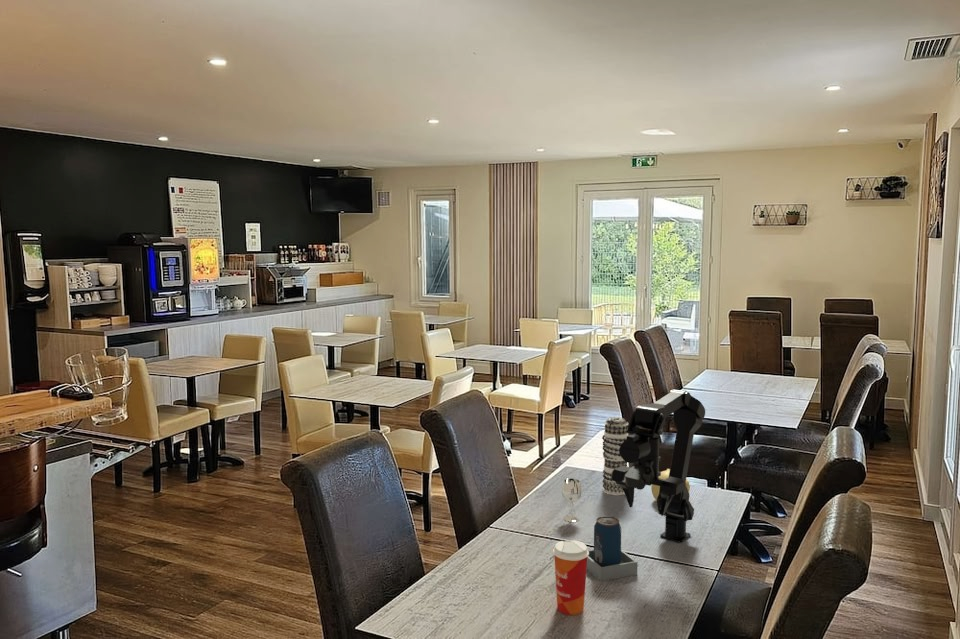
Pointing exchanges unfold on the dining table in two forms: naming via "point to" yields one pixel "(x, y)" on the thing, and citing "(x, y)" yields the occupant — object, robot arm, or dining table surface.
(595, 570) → the tray
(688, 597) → the dining table surface
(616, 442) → the decorative candle
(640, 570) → the dining table surface
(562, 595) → the coffee cup
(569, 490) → the wineglass
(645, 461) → the robot arm
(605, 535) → the soda can
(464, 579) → the dining table surface
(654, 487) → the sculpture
